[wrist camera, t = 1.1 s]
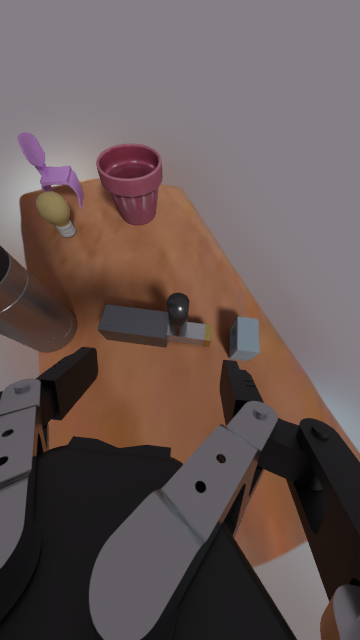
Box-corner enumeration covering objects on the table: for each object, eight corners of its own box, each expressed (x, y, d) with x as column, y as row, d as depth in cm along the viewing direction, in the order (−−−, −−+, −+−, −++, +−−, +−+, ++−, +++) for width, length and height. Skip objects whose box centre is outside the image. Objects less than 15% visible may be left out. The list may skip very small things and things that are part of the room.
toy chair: (82, 211, 54) (50, 143, 40) (50, 213, 53) (6, 145, 40) (86, 192, 57) (57, 124, 44) (55, 194, 57) (17, 126, 43)
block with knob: (112, 333, 37) (84, 300, 26) (116, 319, 38) (92, 282, 27) (208, 346, 36) (221, 317, 25) (209, 331, 37) (222, 297, 27)
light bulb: (51, 237, 49) (22, 198, 40) (68, 222, 52) (45, 182, 43) (70, 246, 48) (46, 207, 39) (87, 230, 50) (67, 190, 41)
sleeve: (107, 339, 38) (97, 329, 33) (114, 316, 40) (106, 304, 35) (166, 347, 37) (164, 338, 32) (170, 323, 39) (169, 312, 35)
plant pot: (172, 225, 52) (170, 171, 40) (119, 238, 49) (101, 184, 38) (156, 193, 57) (150, 138, 46) (108, 203, 55) (90, 148, 44)
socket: (229, 358, 36) (237, 349, 31) (230, 329, 39) (237, 316, 34) (248, 361, 36) (259, 352, 31) (247, 331, 38) (258, 319, 34)
